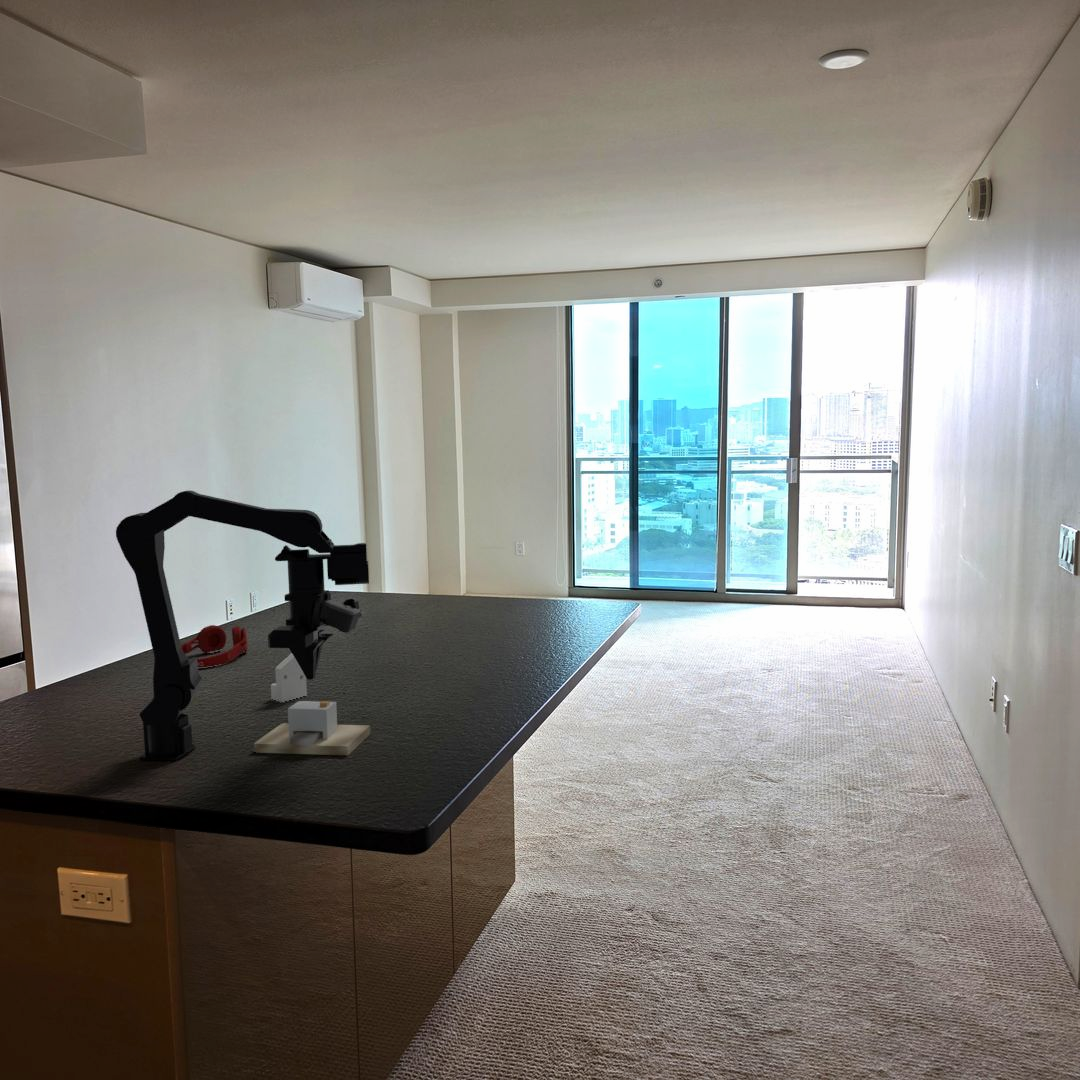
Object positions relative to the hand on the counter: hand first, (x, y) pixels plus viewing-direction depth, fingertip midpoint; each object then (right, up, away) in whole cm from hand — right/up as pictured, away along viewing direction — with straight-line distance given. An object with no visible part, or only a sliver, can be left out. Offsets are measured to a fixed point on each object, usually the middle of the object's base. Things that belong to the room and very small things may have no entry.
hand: (310, 679), depth 151 cm
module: (0, -9, +1) cm, 10 cm away
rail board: (0, -11, +1) cm, 11 cm away
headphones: (-40, -6, +65) cm, 77 cm away
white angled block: (-12, -9, +30) cm, 33 cm away
